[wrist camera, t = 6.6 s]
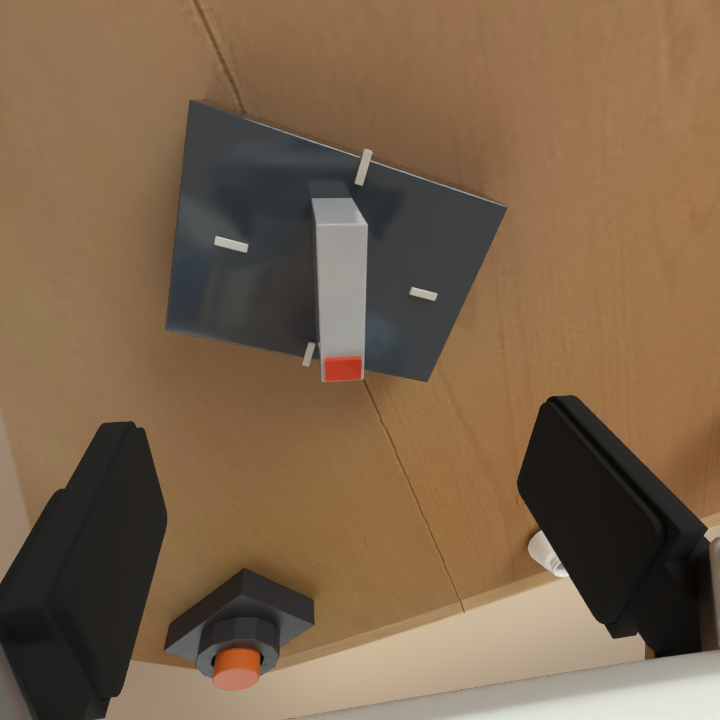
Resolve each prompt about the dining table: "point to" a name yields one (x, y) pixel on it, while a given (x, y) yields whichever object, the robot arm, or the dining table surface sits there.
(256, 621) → the button block
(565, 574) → the white jar
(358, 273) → the white rectangular bar
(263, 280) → the plate
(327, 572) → the dining table surface
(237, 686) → the button
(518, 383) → the dining table surface
